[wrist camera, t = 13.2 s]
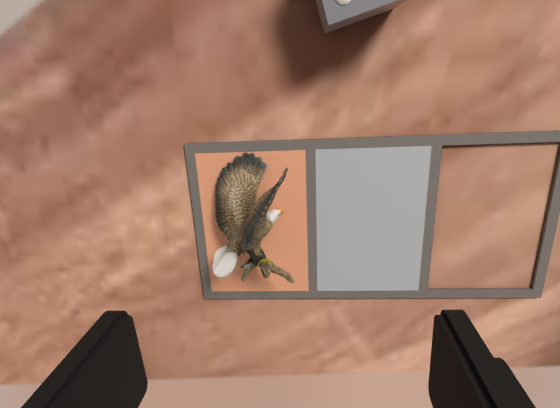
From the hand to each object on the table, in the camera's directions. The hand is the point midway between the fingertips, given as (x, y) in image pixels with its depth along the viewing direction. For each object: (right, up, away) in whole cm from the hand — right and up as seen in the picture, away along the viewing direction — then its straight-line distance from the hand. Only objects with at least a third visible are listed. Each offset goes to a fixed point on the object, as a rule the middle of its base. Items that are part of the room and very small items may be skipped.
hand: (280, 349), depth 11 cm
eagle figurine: (-2, +4, +20) cm, 21 cm away
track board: (+8, +3, +20) cm, 22 cm away
